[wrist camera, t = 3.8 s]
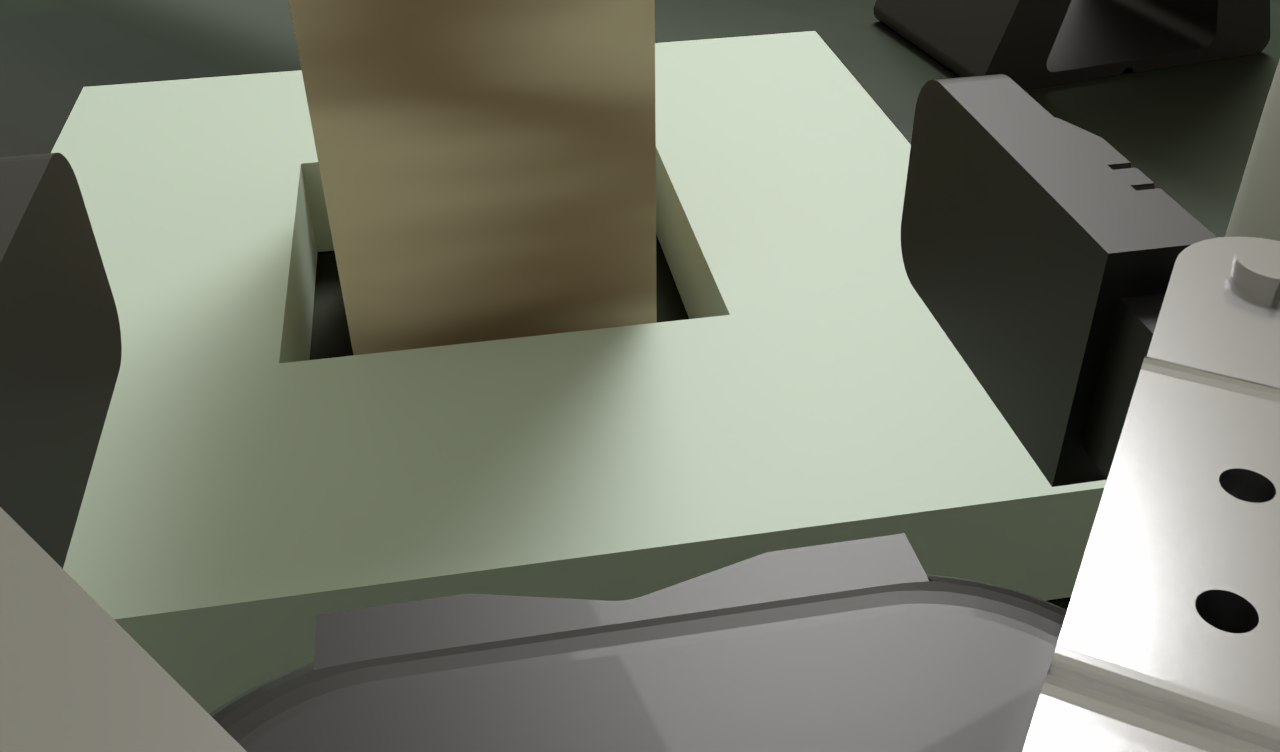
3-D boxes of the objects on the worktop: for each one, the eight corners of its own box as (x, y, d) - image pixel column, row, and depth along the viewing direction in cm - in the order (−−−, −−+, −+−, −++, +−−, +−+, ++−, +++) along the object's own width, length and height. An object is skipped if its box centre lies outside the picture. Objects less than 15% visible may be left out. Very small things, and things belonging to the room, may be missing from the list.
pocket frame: (809, 108, 31) (815, 31, 30) (1153, 584, 17) (1188, 476, 16) (107, 168, 29) (83, 87, 27) (-134, 771, 15) (-202, 661, 14)
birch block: (612, 248, 25) (591, -452, 18) (657, 389, 21) (651, -439, 14) (366, 273, 25) (248, -444, 18) (365, 422, 21) (211, -428, 14)
